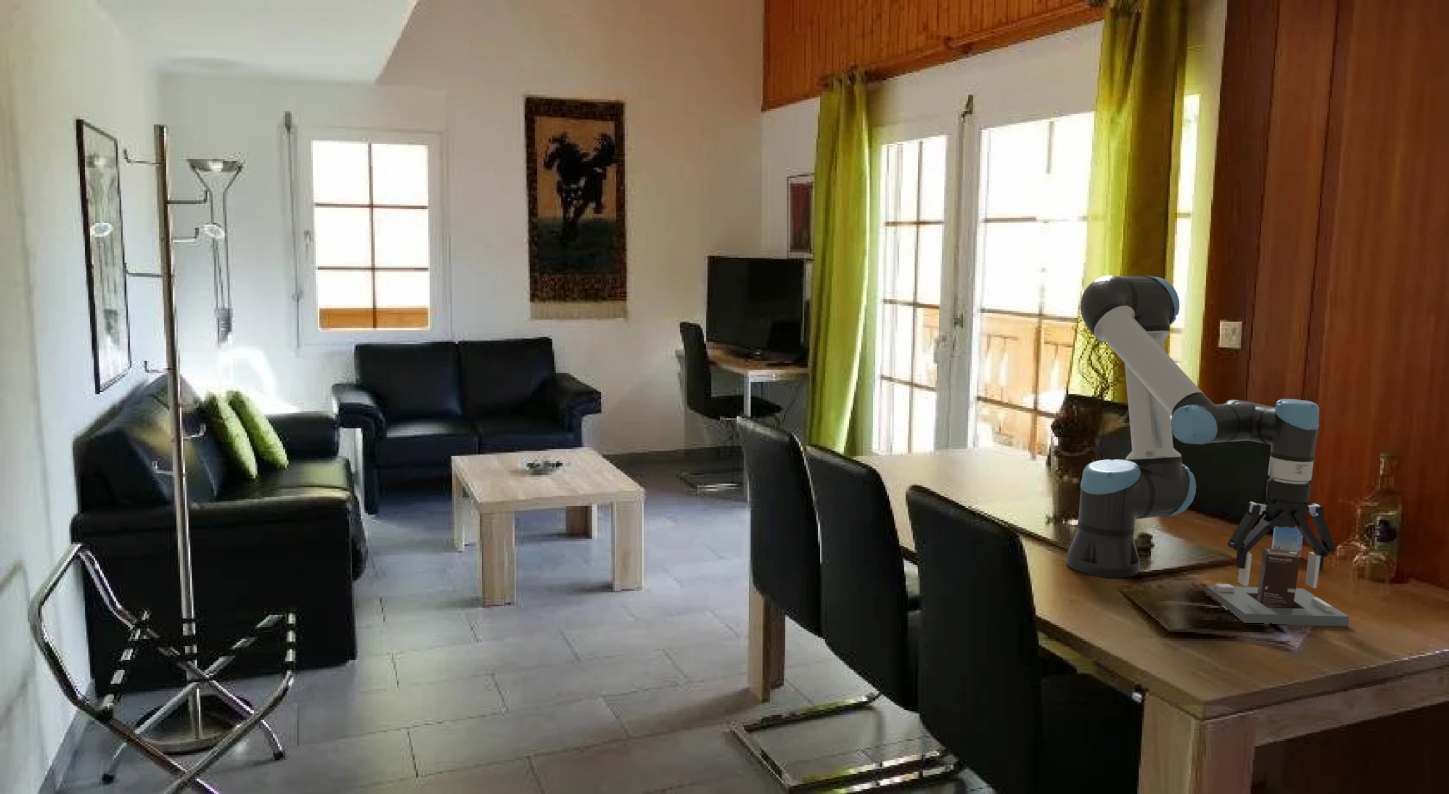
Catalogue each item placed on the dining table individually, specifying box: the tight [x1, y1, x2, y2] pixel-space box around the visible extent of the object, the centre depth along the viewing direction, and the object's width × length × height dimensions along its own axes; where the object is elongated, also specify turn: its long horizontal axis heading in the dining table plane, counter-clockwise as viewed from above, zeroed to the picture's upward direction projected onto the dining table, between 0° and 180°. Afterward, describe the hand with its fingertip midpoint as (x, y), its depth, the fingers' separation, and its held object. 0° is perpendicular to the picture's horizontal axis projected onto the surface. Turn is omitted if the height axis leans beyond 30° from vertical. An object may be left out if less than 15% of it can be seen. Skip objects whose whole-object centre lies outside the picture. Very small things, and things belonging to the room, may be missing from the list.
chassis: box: [1205, 583, 1350, 627], centre depth 210 cm, size 20×16×3 cm
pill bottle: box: [1271, 526, 1304, 558], centre depth 247 cm, size 6×6×11 cm
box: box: [1257, 547, 1301, 608], centre depth 209 cm, size 6×4×12 cm
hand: (1276, 585), depth 209 cm, fingers open, 13 cm apart
